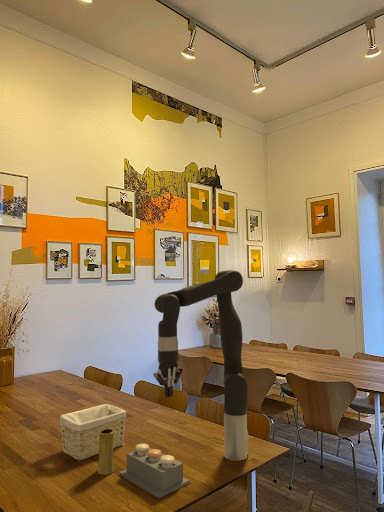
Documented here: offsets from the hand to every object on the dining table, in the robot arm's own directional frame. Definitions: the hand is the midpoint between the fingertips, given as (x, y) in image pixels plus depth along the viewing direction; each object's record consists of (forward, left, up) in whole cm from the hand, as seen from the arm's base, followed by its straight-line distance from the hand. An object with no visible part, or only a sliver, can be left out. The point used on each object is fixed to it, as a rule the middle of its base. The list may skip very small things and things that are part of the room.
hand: (168, 396), depth 138 cm
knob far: (+5, -9, -27) cm, 29 cm away
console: (+5, -2, -28) cm, 28 cm away
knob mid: (+5, -2, -27) cm, 27 cm away
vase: (+14, -19, -28) cm, 37 cm away
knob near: (+5, +5, -27) cm, 28 cm away
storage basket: (+6, -41, -28) cm, 50 cm away
